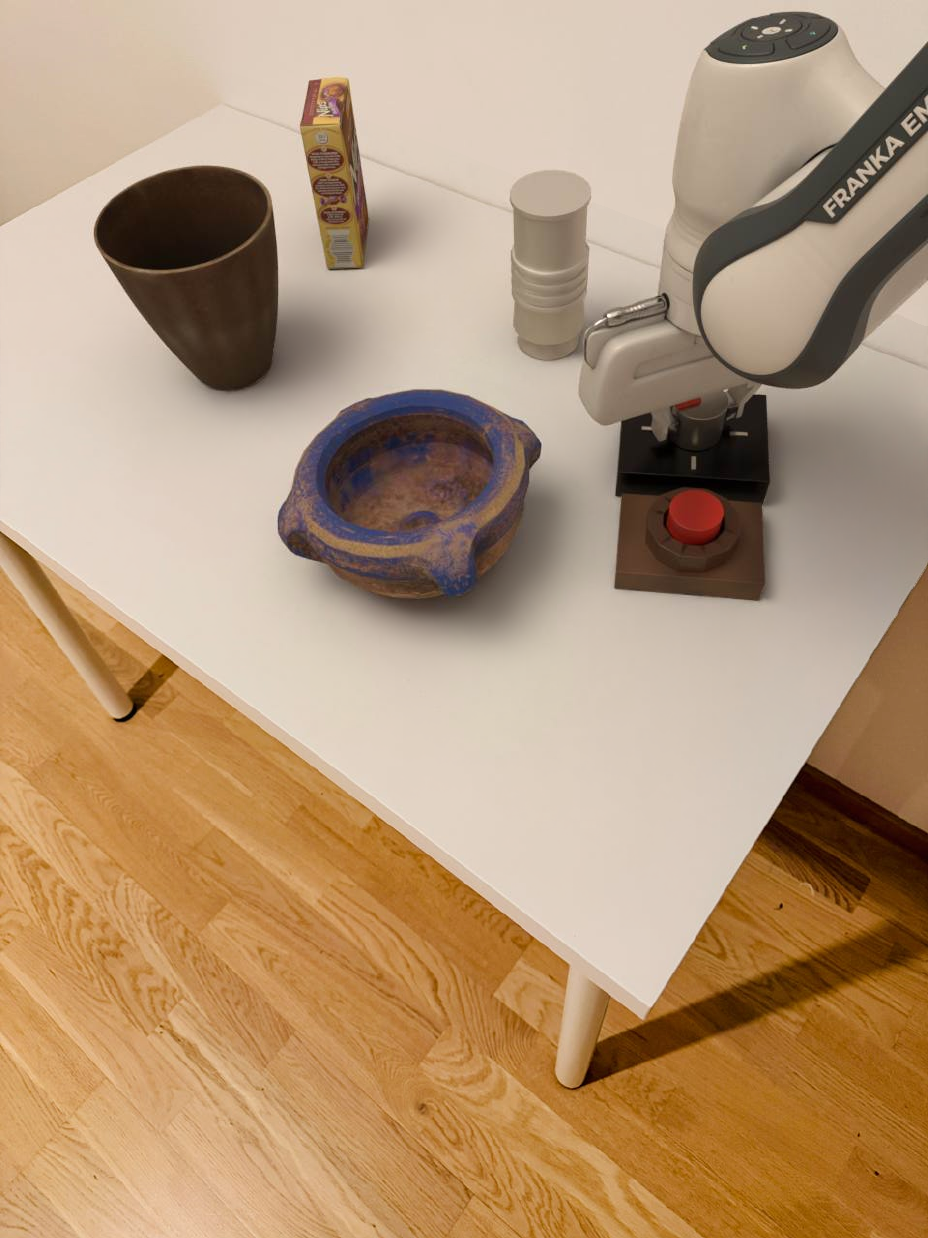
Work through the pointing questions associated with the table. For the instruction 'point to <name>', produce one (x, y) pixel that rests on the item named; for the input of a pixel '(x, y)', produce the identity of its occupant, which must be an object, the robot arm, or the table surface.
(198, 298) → the flower pot
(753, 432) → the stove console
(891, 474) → the table surface
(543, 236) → the beige ribbed cylinder
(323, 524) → the bowl
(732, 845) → the table surface
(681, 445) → the knob
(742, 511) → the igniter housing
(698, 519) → the igniter button
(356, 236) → the candy box
